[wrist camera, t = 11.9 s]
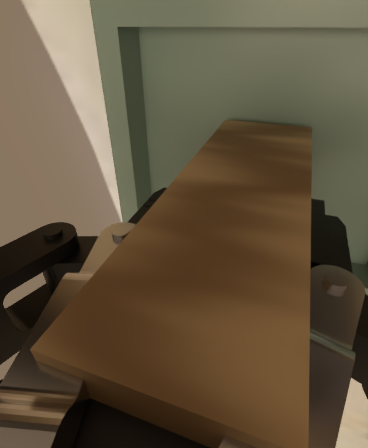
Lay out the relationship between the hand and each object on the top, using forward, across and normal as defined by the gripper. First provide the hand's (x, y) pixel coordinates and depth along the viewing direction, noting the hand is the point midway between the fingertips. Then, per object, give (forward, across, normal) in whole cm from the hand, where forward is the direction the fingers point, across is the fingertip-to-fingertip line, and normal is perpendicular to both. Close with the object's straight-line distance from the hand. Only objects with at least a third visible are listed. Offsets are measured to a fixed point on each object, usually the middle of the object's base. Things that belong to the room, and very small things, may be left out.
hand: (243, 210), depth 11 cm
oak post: (+5, 0, 0) cm, 5 cm away
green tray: (+7, 0, 0) cm, 7 cm away
